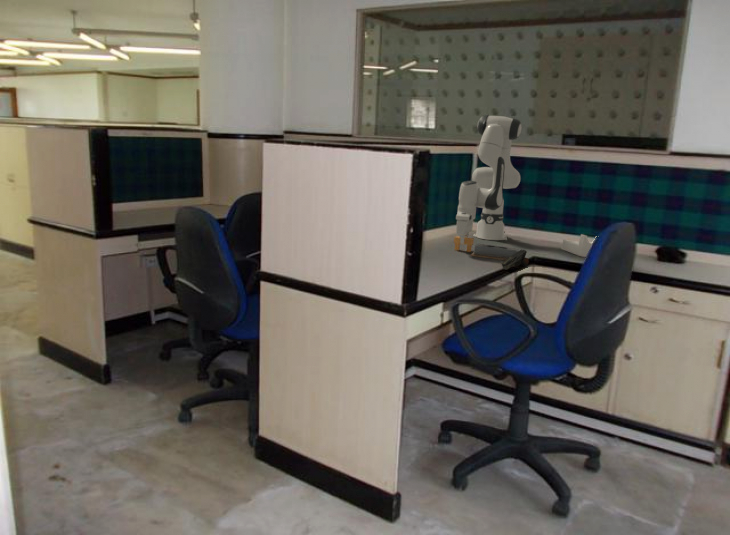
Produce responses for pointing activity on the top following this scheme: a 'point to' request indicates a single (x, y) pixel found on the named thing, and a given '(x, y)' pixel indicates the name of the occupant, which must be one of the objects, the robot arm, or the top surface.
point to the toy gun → (516, 260)
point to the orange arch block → (467, 242)
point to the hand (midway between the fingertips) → (463, 242)
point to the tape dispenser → (577, 246)
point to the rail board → (493, 251)
